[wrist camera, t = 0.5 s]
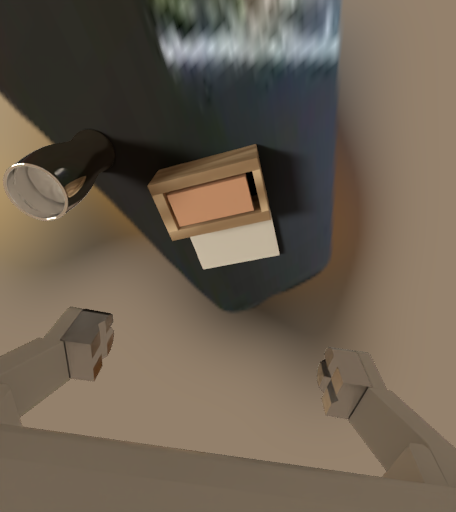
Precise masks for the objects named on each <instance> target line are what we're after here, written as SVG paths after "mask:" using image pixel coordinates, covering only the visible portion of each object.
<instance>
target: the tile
mask: <svg viewBox="0 0 456 512" xmlns="http://www.w3.org/2000/svg"><path fill="white" fill-rule="evenodd" d="M167 197H168V200H169V202H170V204H171V207H172V209H173V212H174V214H175V216H176V219H177V221H178V223H179V226H180V227H182V226H186V225H191V224H195V223H200V222H204V221H209V220H213V219H218V218H222V217H227V216H231V215H236V214H240V213H245V212H249V211H254V205H253V201H252V197H251V193H250V189H249V185H248V181H247V176H246V173H243V174H239V175H235V176H230V177H226V178H222V179H218V180H214V181H210V182H206V183H202V184H198V185H194V186H190V187H186V188H182V189H178V190H174V191H170V192H169V193H168V195H167Z"/></svg>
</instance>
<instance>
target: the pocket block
mask: <svg viewBox="0 0 456 512" xmlns="http://www.w3.org/2000/svg"><path fill="white" fill-rule="evenodd" d="M251 171H252V172H253V177H254V181H255V185H256V190H257V194H258V195H253V196H251V197H252V201H253V205H254V211H249V212H245V213H240V214H236V215H231V216H227V217H222V218H218V219H213V220H209V221H204V222H200V223H195V224H191V225H186V226H182V227H180V226H179V223H178V221H177V219H176V216H175V214H174V212H173V209H172V207H171V204H170V202H169V200H168V197H167V195H168V193H169V192H170V191H174V190H178V189H182V188H186V187H190V186H194V185H198V184H202V183H206V182H210V181H214V180H218V179H222V178H226V177H230V176H235V175H239V174H243V173H247V172H251ZM148 188H149V190H150V193H151V195H152V197H153V199H154V201H155V204H156V206H157V208H158V210H159V212H160V215H161V217H162V219H163V221H164V223H165V226H166V228H167V230H168V232H169V234H170V237H171V239H172V241H174V240H178V239H183V238H188V237H192V236H197V235H202V234H206V233H211V232H216V231H220V230H225V229H230V228H234V227H239V226H244V225H249V224H253V223H258V222H263V221H267V220H271V217H270V209H269V202H268V197H267V192H266V188H265V183H264V178H263V174H262V169H261V164H260V160H259V155H258V150H257V146H256V144H254V145H251V146H247V147H243V148H239V149H236V150H232V151H228V152H224V153H221V154H217V155H213V156H209V157H206V158H202V159H198V160H194V161H191V162H187V163H183V164H179V165H176V166H172V167H168V168H164V169H161V170H158V171H157V173H156V174H155V176H154V177H153V179H152V180H151V181H150V183H149V184H148Z"/></svg>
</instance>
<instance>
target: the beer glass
mask: <svg viewBox="0 0 456 512" xmlns="http://www.w3.org/2000/svg"><path fill="white" fill-rule="evenodd" d="M114 161H115V151H114V148H113V146H112V144H111V142H110V141H109V140H108V139H107V137H105V136H104V135H103V134H101V133H100V132H98V131H95V130H91V129H86V130H82V131H80V132H78V133H77V134H76V135H75V136H74V137H73V138H72V140H71V141H68V142H62V143H57V144H52V145H48V146H45V147H42V148H40V149H38V150H35V151H33V152H32V153H30V154H28V155H27V156H25V157H24V158H22V159H21V160H20V161H18V162H17V163H16V164H14V165H12V166H10V167H9V168H8V169H7V170H6V172H5V174H4V178H3V184H4V189H5V192H6V194H7V196H8V197H9V199H10V200H11V202H12V203H13V204H14V205H15V206H16V207H17V208H18V209H19V210H21V211H22V212H23V213H25V214H26V215H28V216H30V217H33V218H35V219H39V220H43V221H52V220H56V219H59V218H61V217H62V216H63V215H64V214H65V213H67V212H68V211H69V210H71V209H72V208H73V207H75V206H76V205H77V204H78V203H79V202H80V201H82V199H83V198H84V197H85V196H86V195H87V194H88V192H89V191H90V189H91V188H92V186H93V184H94V182H95V180H96V178H97V176H98V175H99V174H100V173H101V172H104V171H106V170H108V169H110V168H111V167H112V165H113V163H114Z"/></svg>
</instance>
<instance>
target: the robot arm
mask: <svg viewBox="0 0 456 512" xmlns="http://www.w3.org/2000/svg"><path fill="white" fill-rule="evenodd" d="M112 323H113V315H112V314H111V313H106V312H100V311H94V310H89V309H81V308H76V307H69V308H68V309H66V311H65V312H64V313H63V314H62V315H61V317H60V318H59V319H58V320H57V322H56V323H55V324H54V326H53V327H52V328H51V329H50V330H49V331H48V333H47V334H46V335H45V336H44V338H37V339H35V340H33V341H31V342H29V343H27V344H25V345H22V346H20V347H18V348H16V349H14V350H12V351H10V352H8V353H6V354H4V355H2V356H0V512H456V448H455V447H453V445H451V444H450V443H449V442H448V441H447V440H446V439H445V438H444V437H442V436H441V435H440V434H439V433H438V432H437V431H436V430H435V429H434V428H432V427H431V426H430V425H429V424H428V423H427V422H426V421H425V420H423V419H422V418H421V417H420V416H419V415H418V414H417V413H416V412H414V411H413V410H412V409H411V408H410V407H409V406H408V405H407V404H406V403H405V402H403V401H402V400H401V399H400V398H399V397H398V396H397V395H396V394H394V393H393V392H392V391H390V390H387V388H386V386H385V384H384V382H383V380H382V378H381V376H380V374H379V371H378V369H377V367H376V365H375V363H374V361H373V359H372V357H371V355H370V354H369V353H367V352H361V351H353V350H346V349H339V348H332V347H328V348H327V349H326V351H325V353H324V356H325V359H324V360H323V361H321V362H320V364H319V366H318V370H317V382H318V386H319V388H320V389H321V391H322V392H323V393H324V394H323V396H322V398H321V399H322V403H323V407H324V411H325V415H327V416H332V417H338V418H344V419H349V422H350V423H351V425H352V426H353V427H354V429H355V430H356V431H357V433H358V434H359V435H360V437H361V438H362V439H363V441H364V442H365V443H366V445H367V446H368V447H369V449H370V450H371V451H372V453H373V454H374V455H375V457H376V458H377V459H378V460H379V462H380V463H381V465H382V466H383V467H384V468H385V470H386V473H385V474H384V475H383V476H382V477H377V476H370V475H363V474H356V473H349V472H342V471H335V470H327V469H320V468H313V467H305V466H299V465H291V464H284V463H277V462H270V461H263V460H256V459H249V458H241V457H234V456H227V455H220V454H213V453H206V452H198V451H192V450H185V449H178V448H170V447H163V446H156V445H149V444H142V443H135V442H128V441H120V440H114V439H107V438H99V437H92V436H85V435H78V434H71V433H64V432H57V431H50V430H43V429H36V428H28V427H23V426H22V423H21V420H20V417H21V416H23V415H24V414H25V413H26V412H28V411H29V410H30V409H32V408H33V407H34V406H36V405H37V404H38V403H40V402H41V401H42V400H44V399H45V398H46V397H48V396H49V395H50V394H52V393H53V392H54V391H56V390H57V389H58V388H59V387H61V386H62V385H63V384H65V383H66V382H67V381H69V380H70V379H69V378H71V379H79V380H87V381H95V379H96V377H97V375H98V373H99V371H100V369H101V367H102V359H103V358H105V357H106V356H107V355H108V354H109V352H110V350H111V347H112V344H113V338H114V330H113V329H112V328H111V325H112Z"/></svg>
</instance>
